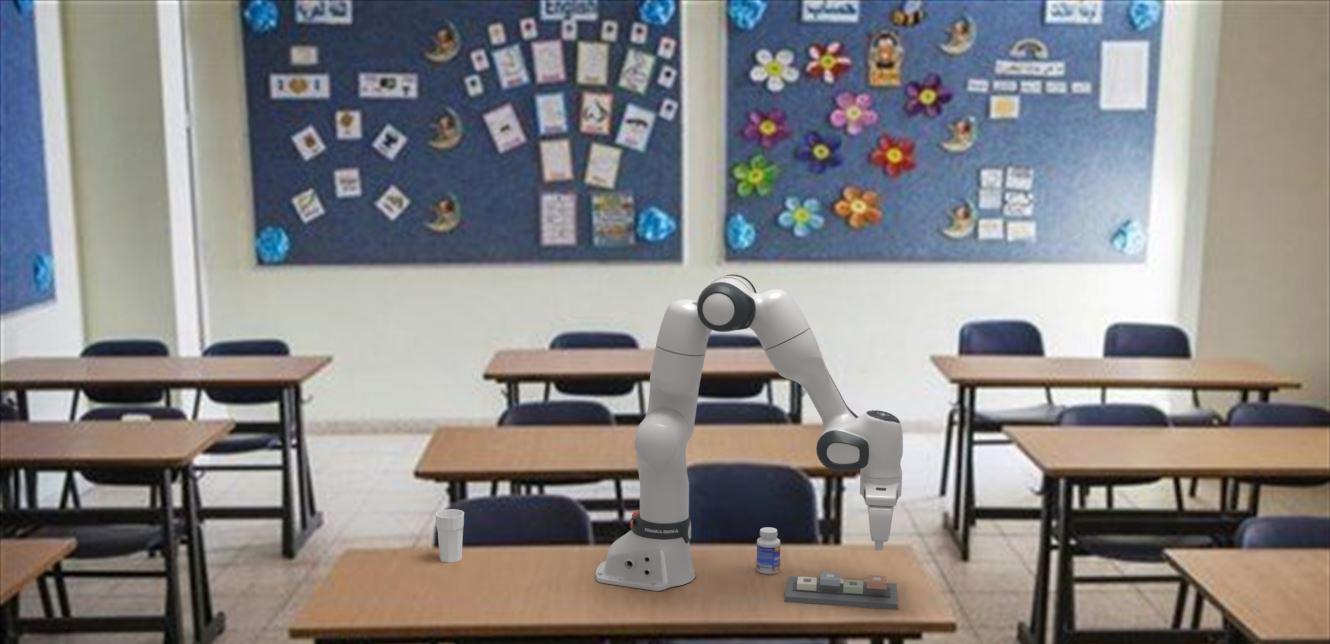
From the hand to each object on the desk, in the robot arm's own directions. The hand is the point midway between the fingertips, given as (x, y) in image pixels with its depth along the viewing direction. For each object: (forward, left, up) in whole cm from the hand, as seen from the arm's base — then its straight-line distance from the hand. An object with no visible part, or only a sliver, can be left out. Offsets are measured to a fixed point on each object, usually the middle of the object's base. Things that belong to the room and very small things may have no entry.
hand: (878, 548), depth 269 cm
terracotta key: (0, 0, -8) cm, 8 cm away
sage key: (-5, 0, -10) cm, 11 cm away
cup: (-99, +6, -11) cm, 100 cm away
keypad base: (-8, 0, -11) cm, 14 cm away
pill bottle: (-25, +12, -11) cm, 30 cm away
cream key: (-15, 0, -10) cm, 18 cm away
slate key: (-10, 0, -8) cm, 13 cm away
